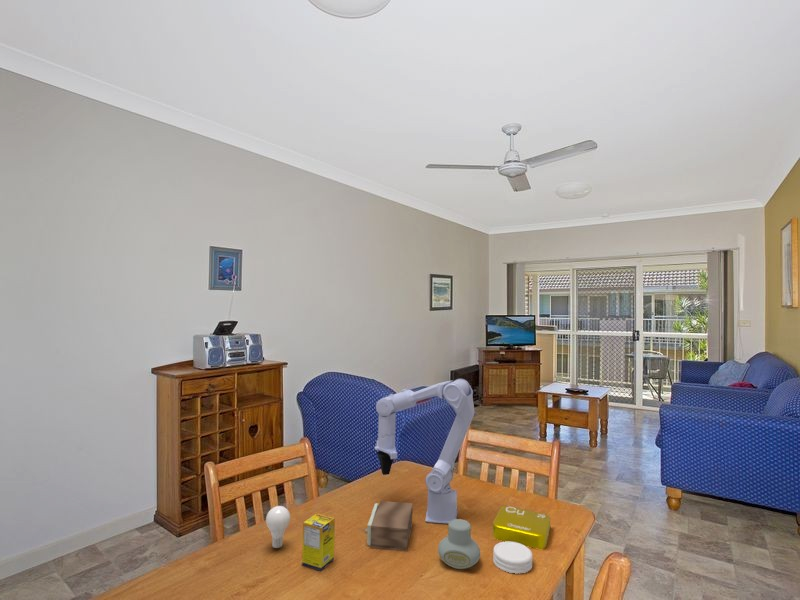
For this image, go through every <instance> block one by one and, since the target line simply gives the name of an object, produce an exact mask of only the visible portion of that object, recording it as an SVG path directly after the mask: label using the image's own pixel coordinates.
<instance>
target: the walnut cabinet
mask: <svg viewBox="0 0 800 600" xmlns="http://www.w3.org/2000/svg"><path fill="white" fill-rule="evenodd" d="M412 525H413V503H411V502H410V503H409V502H398V501H397V502H396V501H388V500H387V501H385V500H380V501H379V503H378V509H377V511H376V514H375V517H374V519H373V522H372V525H371V546H370V549H378V550H388V551H389V550H390V551H401V552H407V551H408V547H409V546H408V545H409V541H410V536H411V532H412V531H411V530H412Z"/></svg>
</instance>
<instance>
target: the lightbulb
mask: <svg viewBox="0 0 800 600" xmlns="http://www.w3.org/2000/svg"><path fill="white" fill-rule="evenodd" d="M290 521H291V514H290V511H289V509H287V508H286V507H285V506H283V505H276V506H273V507H272V508H271V509H270V510H269V511H268V512H267V514H266V518H265V523H266V526H267V528H268V529H269V531H270V533H271V535H270V536H271V537H272V541H271V542H272V544H271V546H272V548H274V549H280V548H281V547H283V540H284V539H283V538H284V536H285V535H284V534H285V531H286V528H287V527H288V525H289V524H290Z"/></svg>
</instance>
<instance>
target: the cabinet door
mask: <svg viewBox="0 0 800 600" xmlns="http://www.w3.org/2000/svg"><path fill="white" fill-rule="evenodd" d="M378 506H379V503H374V506H373V508H372V511H371V514H370V516H369V517H370V518H369V520H368V522H367V528H365V529H364V534H367V535H366V536H367V539H366V546H370V547H371V525H372V522H373V519H374V517H375V514H376V511H377V509H378Z"/></svg>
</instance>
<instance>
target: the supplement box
mask: <svg viewBox="0 0 800 600" xmlns="http://www.w3.org/2000/svg"><path fill="white" fill-rule="evenodd" d="M335 523H336V520H335V517H332V516H328V515H324V514H321V513H315V514H313V515H312V516H311V517H309V518H307V519H306V520H305V521H303V523H302V557H301V558H302V559H301V560H302V562H301V563H302V566H304V567H308V568H311V569H313V570H317V571H320V572H321V571H323V570H324V569H325V568H326V567H327V566H328V565H330V564H331V562H333V561H334V559H335V530H336V529H335V528H336V527H335Z"/></svg>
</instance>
